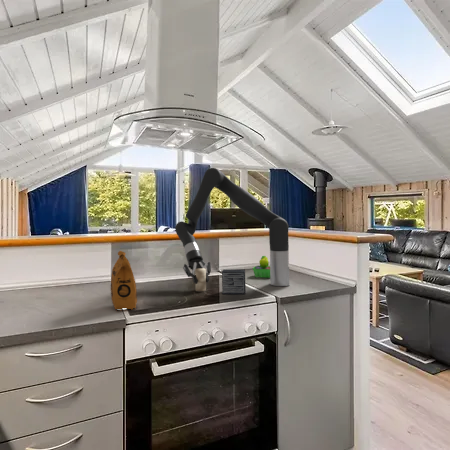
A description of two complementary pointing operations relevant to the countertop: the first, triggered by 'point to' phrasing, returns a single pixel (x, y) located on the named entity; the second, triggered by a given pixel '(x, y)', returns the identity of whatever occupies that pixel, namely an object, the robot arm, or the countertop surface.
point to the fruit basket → (262, 268)
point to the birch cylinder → (201, 279)
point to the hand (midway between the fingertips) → (202, 282)
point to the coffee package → (123, 284)
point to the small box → (233, 281)
